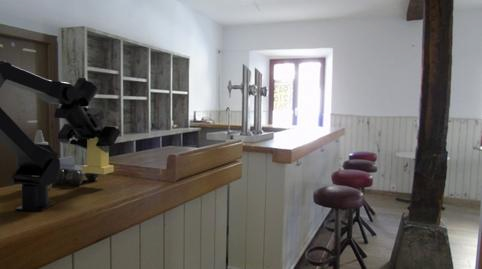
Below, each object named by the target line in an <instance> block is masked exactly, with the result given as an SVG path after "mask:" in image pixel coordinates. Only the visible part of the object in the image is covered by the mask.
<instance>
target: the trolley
mask: <svg viewBox="0 0 482 269" xmlns="http://www.w3.org/2000/svg"><path fill="white" fill-rule="evenodd" d="M58 158H59V160H60V169H59V173H58V177H57V180H56V183H54V184H55V185H62V184H65V183H66V182H67V184H69V185H70V186H71V187H76V186H79V185H81V184H83V182H84V178H86V180H88V181H91V182H92V181H93V182H94V181H95V180H98V179H99V178H100V175H101V174H95V173H84V172H82V166H83V165H82V164H78V163H77V164H75V162H76V160H75V158H76V156H75V155H71V156H64V157H58ZM84 176H85V177H84Z"/></svg>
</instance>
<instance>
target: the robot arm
mask: <svg viewBox="0 0 482 269" xmlns="http://www.w3.org/2000/svg"><path fill="white" fill-rule="evenodd" d="M4 83H5V84H7V85H10V86H14V87H16V88H19V89H22V90H25V91H27V92H30V93H33V94H34V95H37V97H38V99H40V100H42V101H43V102H45V103H47V104H49V105H50V104H52V105H53V104H55V105H59V106H58V107H56V108H55V111H54V113H53V118H54V119H64V120H65V122H66V123H64V124H63V126H62V128H61V129H60V130H59V132H58V133H57V135H56V136H57V140H58V141H59V142H60V143H63V144H65V143H68V144H70V145H74V146H76V147H79V148H82V149H84V150H87V139H94V138H95V137H97V138H98V142H97V144H96V146H97V147H98V148H100V149H101V150H103V151H104V152H106V153H108V152H110V147H112V146H114V145H115V142H116V141H117V139H118V137H119V135H120V133H121V131H120V128H119V127H118V126H116V125H114V126H112V125H105V126H104V127H102V128H99V126H100V122H101V121H102V120H104V119H105V118H106V117H105V113H104V109H103V108H102V107H88V106H90V104H91V102H92V101H93V99H94V98H95V96H96V95H97V93H98V92H99V90H98V87H97V85H95V84H94V83H92V82H91V81H89V80H87V78H86V77H78V79H77V80H76V83H75V84H74V85H73V84H72V83H70V82H65V81H59V80H52V79H47V78H44V77H42V76H40V75H37V74H35V73H33V72H30V71H28V70H25V69H23V68H20V67H18V66H15V65H13V64H11V63H10V62H8V61H6V60H0V89H1V88H2V87H3V84H4ZM97 128H99V129H97ZM0 141H1V143H2V144H4V145H5V146H6V148H8V150H10V151H11V152H12V153H13V154H14V155H15V156H16V164H17V165H18V167H17V168H16V169H15V171H14V172H13V174H12V175H11V179H12V183H13V184H16V185H17V184H19V185H21V205H19V206H16V208H15V209H14V210H15V211H24V212H25V211H31V212H33V211H35V212H40V211H41V212H42V211H45V210H46V209H48V208H50V207H51V206H53V205H55V201H49V190H48V185H50V184H52V185H53V184H55V183H56V180H57V177H58V173H59V169H60V160H59V158H60V157H59V153H58V152H55V151H54V149H53V148H52V146H51V145H49V144H48V145H43V144H35V143H34V141H33V140H32V138H30V137H29V135H28V134H27V133H26V132H25V131H24V130H23V129H22V128H21V127H20V126H19V125H18V124H17V123H16V122H15V121H14V120H13V118H11V116H10V115H9V114H8V113H7V112H6V111H5V110H4V109H3V108H2V107H1V106H0ZM32 176H40V177H32Z"/></svg>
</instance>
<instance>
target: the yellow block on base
mask: <svg viewBox="0 0 482 269" xmlns="http://www.w3.org/2000/svg"><path fill="white" fill-rule="evenodd" d="M97 142H98V138H97V137H95V138H94V139H87V149H86V164H84V165H82V172H84V173H95V174H100V175H107V174H110V173H113V172H115V167H114V165H112V164H111V165H110V163H109V162H110V161H109V158H110V155H109V154H110V153H109V152H110V151H109V152H108V153H106V152H104V151H103V150H101V149H100V148H98V147H97V146H96V144H97Z"/></svg>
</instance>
